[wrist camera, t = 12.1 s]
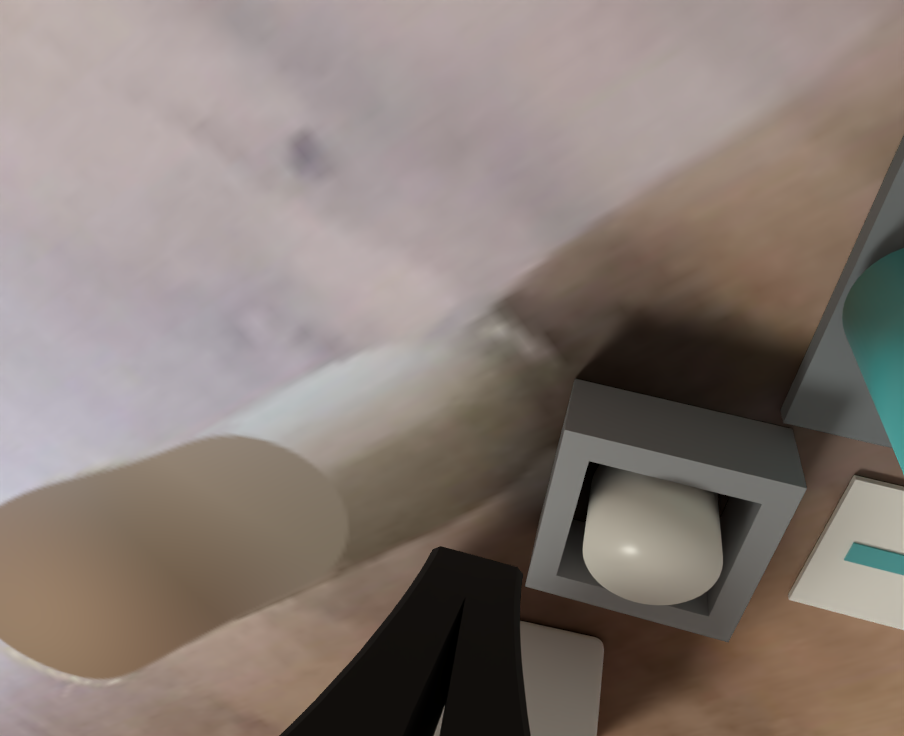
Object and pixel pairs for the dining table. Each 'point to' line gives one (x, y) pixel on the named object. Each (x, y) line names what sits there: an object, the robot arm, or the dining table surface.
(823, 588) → the card
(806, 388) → the board
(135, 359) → the dining table surface
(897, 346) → the marker
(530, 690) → the medicine bottle
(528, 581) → the button box
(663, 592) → the button
